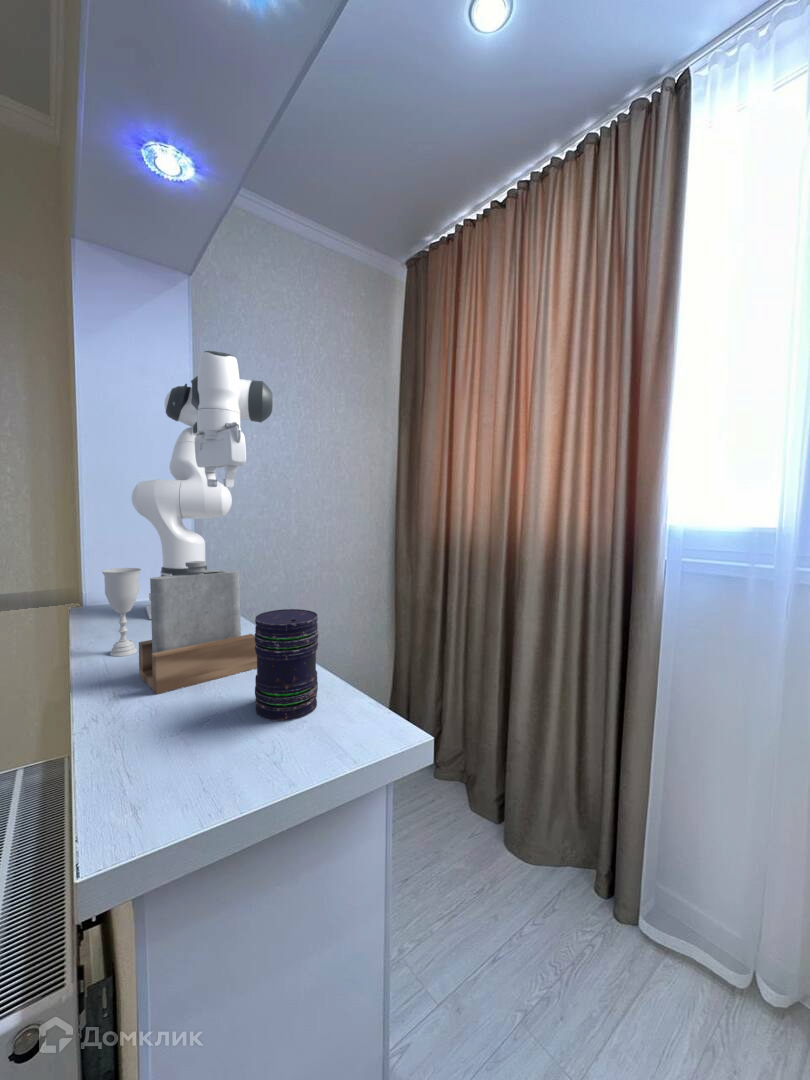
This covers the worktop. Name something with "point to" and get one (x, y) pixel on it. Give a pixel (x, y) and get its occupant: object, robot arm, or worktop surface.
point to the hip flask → (194, 607)
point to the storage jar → (286, 664)
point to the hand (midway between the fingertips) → (220, 487)
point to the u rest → (195, 662)
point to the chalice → (122, 602)
